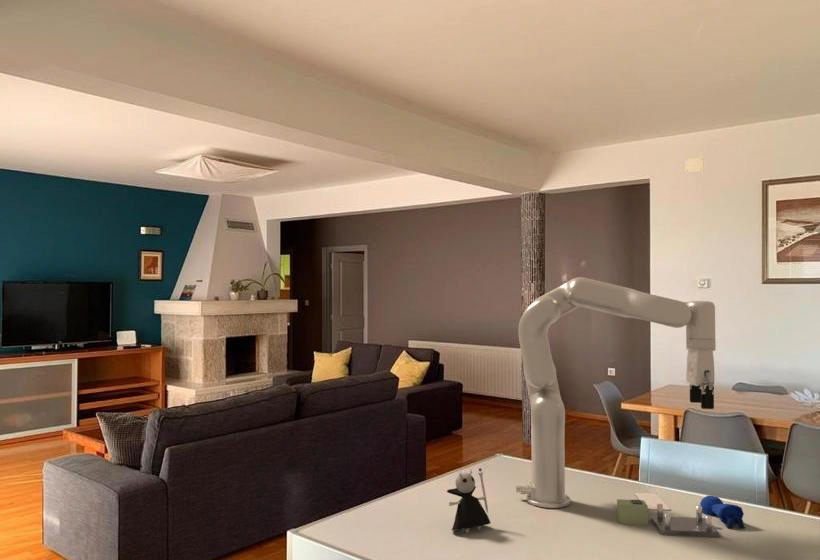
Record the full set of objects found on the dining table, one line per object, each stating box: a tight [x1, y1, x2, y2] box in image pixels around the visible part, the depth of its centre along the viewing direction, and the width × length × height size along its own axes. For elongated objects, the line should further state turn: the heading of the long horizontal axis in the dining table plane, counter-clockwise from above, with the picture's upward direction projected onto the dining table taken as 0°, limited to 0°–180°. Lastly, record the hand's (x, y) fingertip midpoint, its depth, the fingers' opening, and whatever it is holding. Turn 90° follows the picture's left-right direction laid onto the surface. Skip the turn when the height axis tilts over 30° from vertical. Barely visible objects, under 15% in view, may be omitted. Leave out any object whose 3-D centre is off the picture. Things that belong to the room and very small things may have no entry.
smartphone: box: [633, 492, 672, 512], centre depth 184 cm, size 7×1×15 cm
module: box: [616, 498, 649, 526], centre depth 169 cm, size 7×4×5 cm, turn 82°
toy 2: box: [699, 495, 746, 530], centre depth 170 cm, size 7×6×15 cm
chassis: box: [650, 504, 720, 538], centre depth 163 cm, size 14×10×5 cm
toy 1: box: [446, 467, 492, 533], centre depth 164 cm, size 12×7×15 cm, turn 117°
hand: (701, 405), depth 178 cm, fingers open, 9 cm apart
